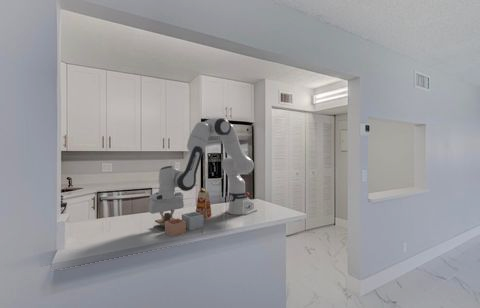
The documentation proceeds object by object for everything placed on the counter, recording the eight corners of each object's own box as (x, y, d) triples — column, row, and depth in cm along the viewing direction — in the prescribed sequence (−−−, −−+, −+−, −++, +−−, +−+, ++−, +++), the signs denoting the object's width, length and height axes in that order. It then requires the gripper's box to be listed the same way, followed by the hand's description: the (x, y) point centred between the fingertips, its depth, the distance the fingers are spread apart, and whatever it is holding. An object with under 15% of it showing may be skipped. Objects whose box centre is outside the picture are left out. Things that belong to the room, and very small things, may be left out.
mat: (171, 222, 145) (171, 221, 145) (180, 227, 137) (180, 226, 137) (153, 226, 137) (153, 225, 137) (162, 231, 129) (162, 230, 129)
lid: (171, 218, 144) (171, 210, 144) (179, 221, 136) (179, 213, 136) (154, 221, 137) (154, 213, 137) (162, 225, 129) (162, 217, 129)
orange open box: (178, 228, 133) (178, 218, 133) (185, 232, 128) (185, 221, 127) (164, 232, 128) (164, 221, 128) (171, 236, 122) (171, 224, 122)
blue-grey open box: (195, 223, 144) (194, 211, 144) (203, 226, 137) (203, 214, 137) (181, 226, 138) (181, 214, 137) (189, 230, 131) (189, 217, 131)
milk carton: (207, 219, 150) (207, 188, 150) (193, 219, 152) (193, 188, 152) (212, 215, 159) (212, 186, 159) (199, 215, 161) (199, 185, 161)
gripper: (180, 191, 146) (180, 213, 146) (147, 196, 132) (147, 220, 132) (185, 192, 141) (185, 216, 141) (152, 197, 127) (152, 223, 127)
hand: (167, 218), depth 137 cm, fingers closed on lid, 3 cm apart
